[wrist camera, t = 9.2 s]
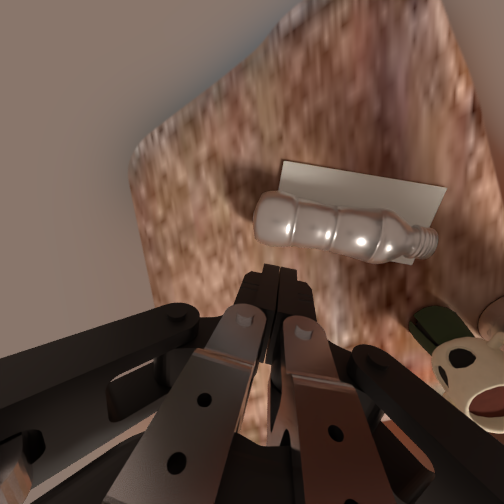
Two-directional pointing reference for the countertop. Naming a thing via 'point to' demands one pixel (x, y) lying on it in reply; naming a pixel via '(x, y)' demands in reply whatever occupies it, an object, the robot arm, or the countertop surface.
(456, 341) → the character mug
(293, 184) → the mat
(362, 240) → the plastic bottle
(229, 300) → the countertop surface
